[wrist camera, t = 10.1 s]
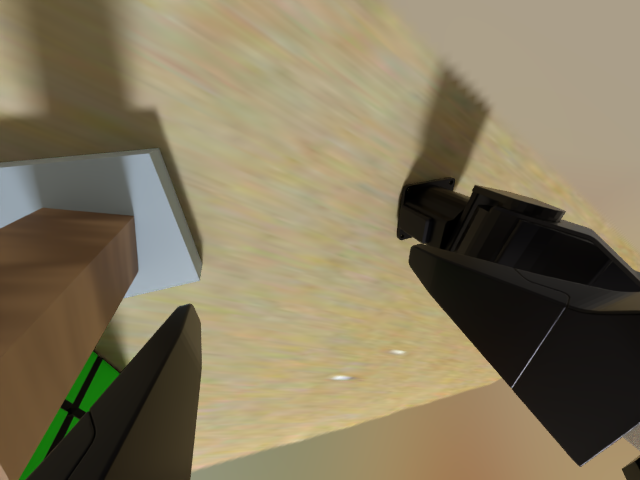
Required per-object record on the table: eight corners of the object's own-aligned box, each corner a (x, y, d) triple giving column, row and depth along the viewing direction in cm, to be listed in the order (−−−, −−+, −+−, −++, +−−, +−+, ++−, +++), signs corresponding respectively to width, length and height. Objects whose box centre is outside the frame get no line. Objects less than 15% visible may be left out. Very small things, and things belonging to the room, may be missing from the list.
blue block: (160, 146, 17) (149, 153, 14) (202, 261, 22) (199, 280, 19) (-25, 163, 14) (-79, 175, 12) (72, 288, 19) (48, 315, 17)
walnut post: (134, 215, 16) (-37, 397, 6) (138, 271, 17) (13, 488, 7) (42, 207, 14) (-453, 451, 4) (57, 270, 15) (-258, 555, 5)
